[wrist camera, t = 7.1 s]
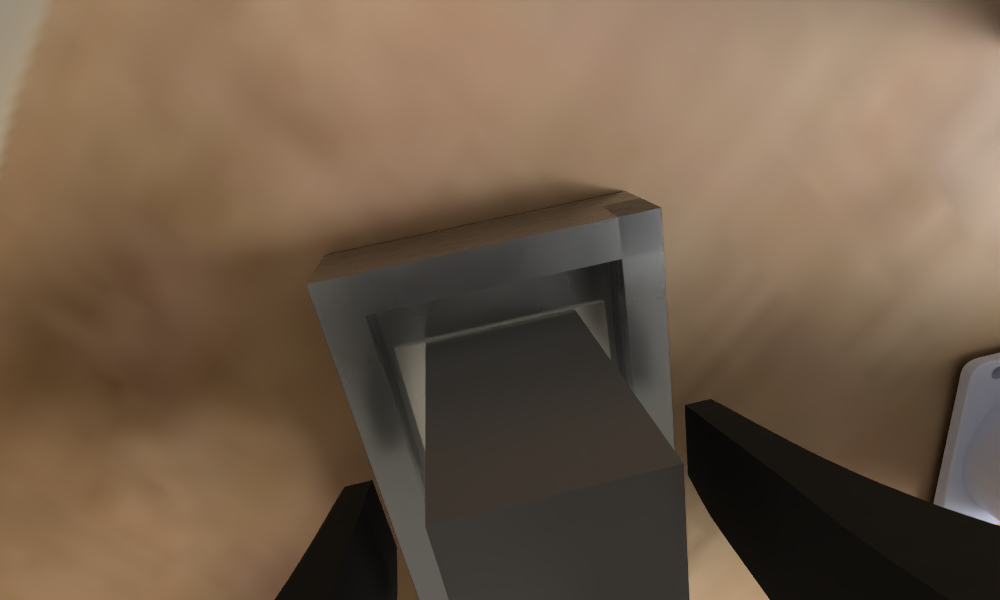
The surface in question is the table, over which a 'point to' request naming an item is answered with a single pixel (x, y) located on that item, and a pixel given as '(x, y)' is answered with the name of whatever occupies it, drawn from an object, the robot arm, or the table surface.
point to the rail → (486, 324)
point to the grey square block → (547, 471)
